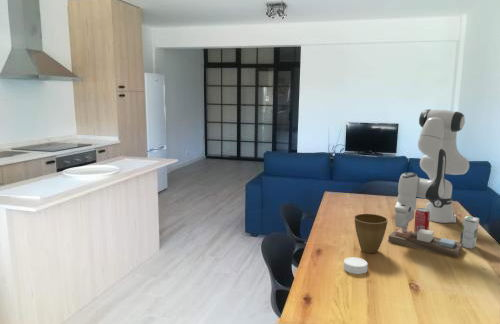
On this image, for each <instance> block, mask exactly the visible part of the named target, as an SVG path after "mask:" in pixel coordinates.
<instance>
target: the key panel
mask: <svg viewBox="0 0 500 324" xmlns="http://www.w3.org/2000/svg"><path fill="white" fill-rule="evenodd" d="M399 229H400V228H398V229H397V228H396V229H395V230H394V231H393V232H391V233H390V234H389V235H388V240H387V242H389V243H394V244H397V245H401V246H405V247H410V248H414V249H417V250H422V251H427V252H430V253H435V254H439V255H443V256H447V257H451V258H455V259H456V258H458V257H459V255H460V253H461V252H462V250H463V247H462V246H463V243H460V241H459V242H458V241H456V244H455V248H449V247H445V246H440V245H439V241H440V240H441V239H442V237H441V238H440V237H435V236H433V240H432V241H431V242H430V243H429V242H424V241H420V240H417V233H416V232H414V231H412V236H411V237H410V238H405V237H401V236H396V231H398V230H399Z"/></svg>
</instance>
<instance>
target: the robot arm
mask: <svg viewBox="0 0 500 324" xmlns="http://www.w3.org/2000/svg"><path fill="white" fill-rule="evenodd" d="M465 123H466V119H465V115H464V114H463V113H462V112H460V111H452V110H448V109H424V110H423V111H422V112H420V115H419V119H418V124H419V126H420V127H421V131H420V133H419V138H418V140H417V141H418V142H417V147H418V150H419V151H420V152H421V153H422V154H423V155H422V156H421V158H420V160H419V167H420V169H421V170H422V171H423V172H424V173H425V174H426V175H427V177H428V178H429V179H428V178H426V179H425V178H422V177H419V176H418V174H417V173H415V172H404V173H401V175H400V177H399V180H398V186H397V188H398V189H397V192H398V195H397V199H396V205H395V206H394V211H395V215H394V225H395V227H397V228H399V229H402V232H406V231H407V230H408V226H409V223H410V222H412V221H413V220H415V212H416V210H417V198H421V199H426V200H428V202H427V203H426V204H425V209H428V210H429V212H430V219H429V221H431V222H436V223H439V224H440V223H441V224H442V223H444V224H447V223H450V224H451V223H457V215H456V214H455V212H454V207H453V205H452V204H453V203H452V202H453V197H452V195H453V193H452V192H453V184H452V183H451V181H449V180H447V179H446V178H445V177H446V175H451V176H452V175H453V176H456V175H457V176H458V175H465V174H466V173H467V172H468V171H469V169H470V161H469V160H468V159H467V157H465V156H463V155H462V153H460V151H459V150H458V149H459V148H458V147H457V146H458V145H457V134H458V132H459V131H461V130H462V129H463V127H464V125H465Z"/></svg>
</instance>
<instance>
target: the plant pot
mask: <svg viewBox="0 0 500 324" xmlns="http://www.w3.org/2000/svg"><path fill="white" fill-rule="evenodd" d="M354 225H355V231H356V237H357V240H358V243H359V247H360V250H361V251H362V252H364V253H367V254H376V253H377V252H378V251H379V249H380V247H381V244H382V242H383V240H384V236H385V234H386V230H387V227H388V226H387V225H388V218H387V217H386V216H383V215H379V214H375V213H359V214H356V215H355V216H354Z"/></svg>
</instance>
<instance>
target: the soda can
mask: <svg viewBox="0 0 500 324" xmlns="http://www.w3.org/2000/svg"><path fill="white" fill-rule="evenodd" d="M429 219H430V212H429V210H428V209H426V207H425V208H424V207H418V208H417V207H416V210H415V211H414V226H413V232H414V233H417V232H418V231H419V230H420V229H424V230H429V231H430V220H429Z"/></svg>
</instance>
